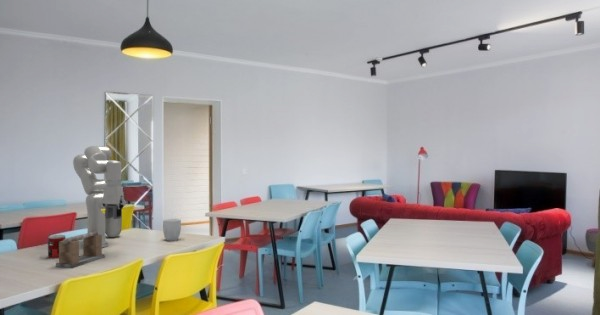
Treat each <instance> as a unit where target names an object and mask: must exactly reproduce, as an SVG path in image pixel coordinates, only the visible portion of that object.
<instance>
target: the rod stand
mask: <svg viewBox="0 0 600 315" xmlns="http://www.w3.org/2000/svg"><path fill="white" fill-rule="evenodd" d="M80 241H82V243H83V249H82V250H83V252H82V253H83V254H81V255H80ZM102 251H103V248H102V235H98V232H97V231H94V232H90V233H88V232H87V233H83V234H79V235H75V236H70V237H67V238H66V237H65V239H64V240H63V241H60V242H59V258H58V262H56V263H55V267H57V268H58V267H60V268H67V267H68V269H71V268H72V269H74V268H78V267H79V266H80V267H81V266H83V265H85V264H88V263H91V262H96V261H98V260H100V259H104V258H105V256H106V254H105V253H104V254H103V252H102Z"/></svg>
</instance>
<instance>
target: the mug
mask: <svg viewBox="0 0 600 315" xmlns="http://www.w3.org/2000/svg"><path fill="white" fill-rule="evenodd" d="M181 230H182V219H181V218H173V217H172V218H165V219H163V220H162V231H163V236H164V239H165V240H166V241H167V242H174V241H178V239H179V237H180V234H181Z"/></svg>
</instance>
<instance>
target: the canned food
mask: <svg viewBox="0 0 600 315" xmlns="http://www.w3.org/2000/svg"><path fill="white" fill-rule="evenodd" d="M64 239H66V235H65V234H55V235H49V236H48V238H47V255H48V258H49V259H59V242H60V241H63V240H64Z"/></svg>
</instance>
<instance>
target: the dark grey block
mask: <svg viewBox="0 0 600 315" xmlns="http://www.w3.org/2000/svg"><path fill="white" fill-rule="evenodd" d="M119 206H120V205H119ZM113 208H114V219H118V218H123V216H122V215H123V213H122V214H121V216H119V217H117V209H118V208H117V206H116V205H114V204H111V205H105V209H104V215H105V219H108V218H112V217H113Z"/></svg>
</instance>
